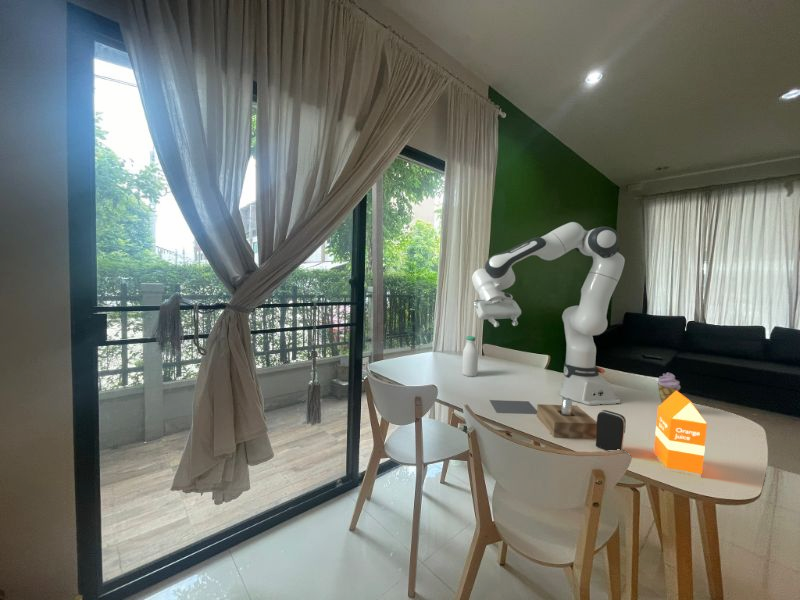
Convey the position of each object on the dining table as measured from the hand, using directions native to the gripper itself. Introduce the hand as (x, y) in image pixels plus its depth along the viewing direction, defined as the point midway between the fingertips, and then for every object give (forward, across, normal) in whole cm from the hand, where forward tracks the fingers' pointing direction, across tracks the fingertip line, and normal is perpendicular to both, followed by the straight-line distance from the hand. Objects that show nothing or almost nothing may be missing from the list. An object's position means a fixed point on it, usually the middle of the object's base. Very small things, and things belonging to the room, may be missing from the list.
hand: (506, 325), depth 129 cm
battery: (+52, +6, -7) cm, 52 cm away
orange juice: (+60, +16, -15) cm, 64 cm away
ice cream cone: (+44, +54, +1) cm, 70 cm away
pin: (+41, +4, +3) cm, 41 cm away
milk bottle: (-1, +6, +46) cm, 46 cm away
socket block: (+41, +4, +4) cm, 41 cm away
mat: (+28, -1, +17) cm, 32 cm away
